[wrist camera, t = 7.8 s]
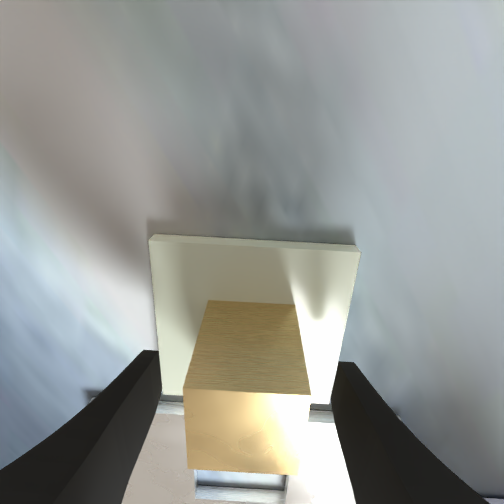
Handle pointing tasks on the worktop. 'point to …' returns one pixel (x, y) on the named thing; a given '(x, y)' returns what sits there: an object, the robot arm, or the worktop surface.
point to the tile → (251, 295)
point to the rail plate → (227, 498)
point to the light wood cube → (247, 390)
